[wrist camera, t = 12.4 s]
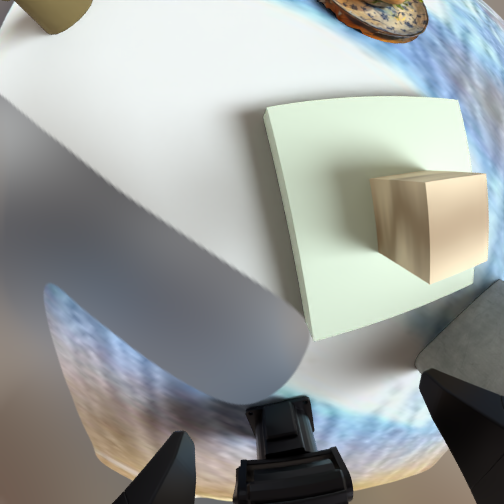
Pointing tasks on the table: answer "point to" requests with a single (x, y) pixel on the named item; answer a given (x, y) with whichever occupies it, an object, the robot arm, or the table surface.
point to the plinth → (357, 199)
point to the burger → (382, 17)
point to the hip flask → (472, 343)
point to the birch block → (432, 221)
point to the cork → (55, 12)
